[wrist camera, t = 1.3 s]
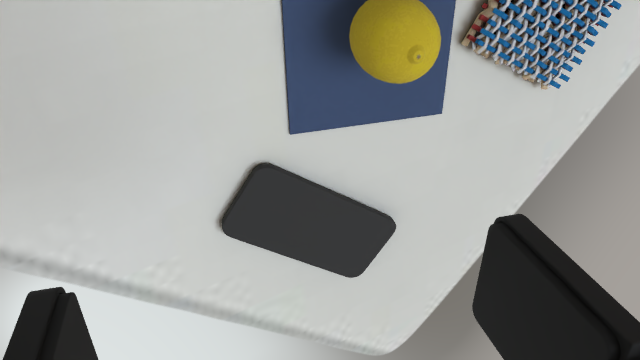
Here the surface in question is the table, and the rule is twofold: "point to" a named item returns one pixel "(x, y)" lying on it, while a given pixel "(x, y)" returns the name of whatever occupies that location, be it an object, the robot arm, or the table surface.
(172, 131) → the table surface
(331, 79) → the cloth
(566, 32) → the woven mat
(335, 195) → the phone
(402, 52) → the lemon
